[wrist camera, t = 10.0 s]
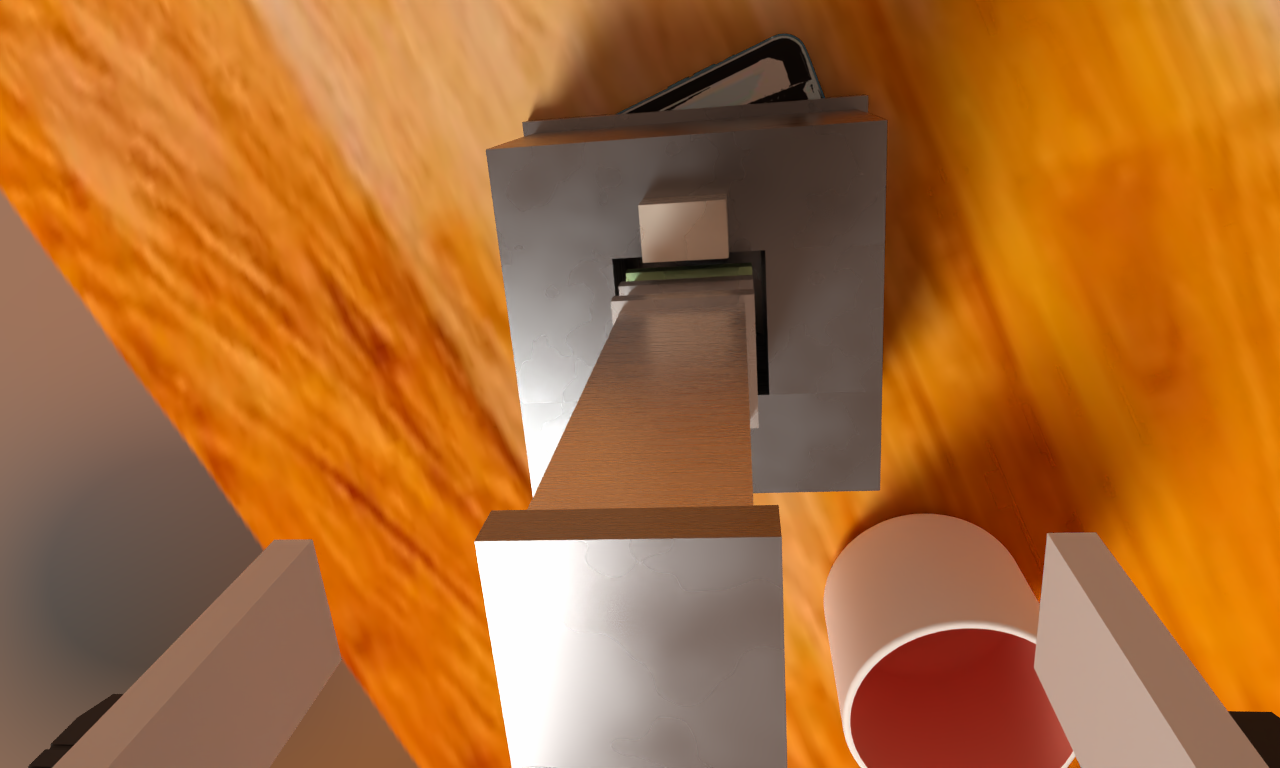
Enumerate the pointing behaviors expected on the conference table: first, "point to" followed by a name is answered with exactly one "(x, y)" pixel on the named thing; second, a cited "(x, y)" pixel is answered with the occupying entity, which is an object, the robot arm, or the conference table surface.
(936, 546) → the cup
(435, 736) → the conference table surface
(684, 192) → the housing
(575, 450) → the column
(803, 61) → the smartphone
